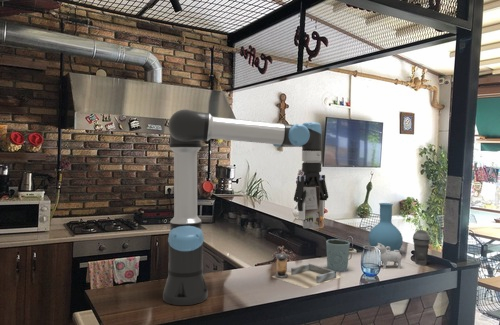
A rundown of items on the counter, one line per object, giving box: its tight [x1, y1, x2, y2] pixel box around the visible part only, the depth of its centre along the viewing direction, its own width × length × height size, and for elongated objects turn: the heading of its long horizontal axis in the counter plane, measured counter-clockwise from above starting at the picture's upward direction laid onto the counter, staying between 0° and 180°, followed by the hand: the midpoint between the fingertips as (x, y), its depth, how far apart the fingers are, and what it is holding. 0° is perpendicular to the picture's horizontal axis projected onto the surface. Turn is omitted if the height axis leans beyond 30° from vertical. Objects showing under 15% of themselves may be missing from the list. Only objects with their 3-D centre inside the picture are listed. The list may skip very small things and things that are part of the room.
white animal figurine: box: [375, 243, 403, 270], centre depth 173 cm, size 5×13×11 cm, turn 95°
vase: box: [368, 202, 403, 251], centre depth 200 cm, size 16×16×25 cm
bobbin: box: [274, 252, 289, 279], centre depth 154 cm, size 5×5×9 cm
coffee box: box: [302, 186, 321, 230], centre depth 154 cm, size 9×6×16 cm
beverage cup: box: [412, 219, 431, 266], centre depth 179 cm, size 7×7×20 cm
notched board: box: [271, 263, 343, 289], centre depth 155 cm, size 22×18×4 cm
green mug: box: [325, 238, 351, 273], centre depth 169 cm, size 10×10×12 cm
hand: (311, 217), depth 154 cm, fingers closed on coffee box, 11 cm apart
